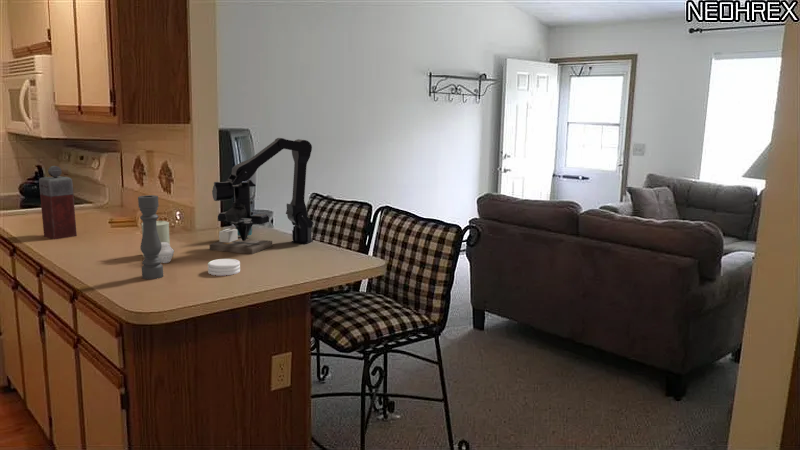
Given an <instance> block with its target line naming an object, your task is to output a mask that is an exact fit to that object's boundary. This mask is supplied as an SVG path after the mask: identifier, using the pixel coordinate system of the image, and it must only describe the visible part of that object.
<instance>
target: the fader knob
mask: <svg viewBox="0 0 800 450" xmlns="http://www.w3.org/2000/svg"><path fill="white" fill-rule="evenodd" d="M218 235H219V237H218V238H219V241H218V242H226V243H230V242H232V241H235V240H238V238H239V236H238V230H237V229H235V228H226V229H223V230H219V231H218Z"/></svg>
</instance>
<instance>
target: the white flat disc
mask: <svg viewBox="0 0 800 450" xmlns="http://www.w3.org/2000/svg"><path fill="white" fill-rule="evenodd" d="M240 272H241V261H240V260H238V259H235V258H219V259H218V258H217V259H213V260H210V261H209V262H208V263H207V273H208V274H209V275H210V274H211V275H210V276H215V275H216V277H217V276H218V277H223V276H224V277H225V276H226V275H227V276H234V275H237V274H239V273H240ZM233 274H234V275H233Z"/></svg>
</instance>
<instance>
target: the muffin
mask: <svg viewBox="0 0 800 450" xmlns="http://www.w3.org/2000/svg"><path fill="white" fill-rule="evenodd" d="M161 245H162V248H161V251H160V253H159V256H158V257H159V258H160V259H161V260H162V262H161V264H168V263H170V262H171V260H172V258H173V256H174V253H175V250H174V248H172V246H171V243H170V244H169V243H167V242H162V243H161Z"/></svg>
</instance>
